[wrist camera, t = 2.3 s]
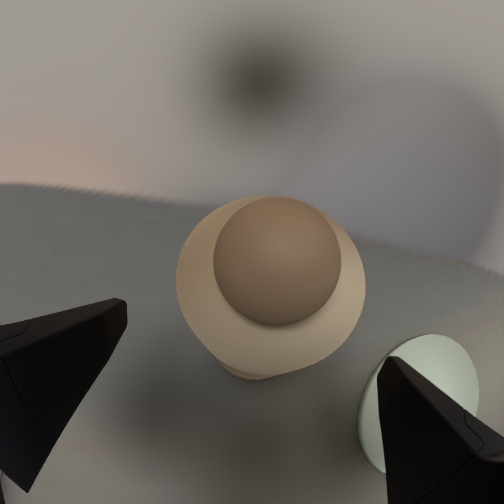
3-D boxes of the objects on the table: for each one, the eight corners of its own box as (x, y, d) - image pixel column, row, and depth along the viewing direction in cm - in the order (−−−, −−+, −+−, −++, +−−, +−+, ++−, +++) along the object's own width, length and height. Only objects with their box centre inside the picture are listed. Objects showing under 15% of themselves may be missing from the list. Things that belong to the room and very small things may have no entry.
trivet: (484, 408, 14) (492, 407, 13) (394, 502, 11) (401, 505, 10) (434, 310, 18) (441, 306, 17) (328, 398, 15) (333, 398, 15)
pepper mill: (299, 358, 17) (443, 274, 4) (237, 392, 16) (230, 422, 3) (264, 301, 18) (312, 122, 6) (204, 332, 17) (124, 187, 5)
